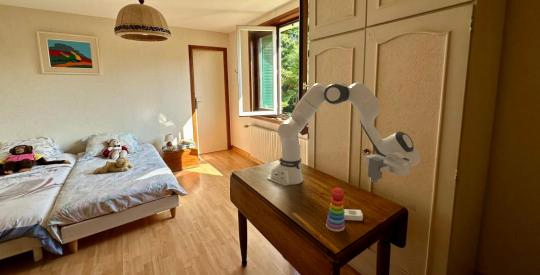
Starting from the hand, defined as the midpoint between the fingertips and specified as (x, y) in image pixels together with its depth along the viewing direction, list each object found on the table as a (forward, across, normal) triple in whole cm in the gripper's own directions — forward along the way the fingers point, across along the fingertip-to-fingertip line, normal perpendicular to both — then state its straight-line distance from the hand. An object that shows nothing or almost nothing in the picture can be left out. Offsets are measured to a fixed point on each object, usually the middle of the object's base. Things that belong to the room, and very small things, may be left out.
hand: (374, 167), depth 114 cm
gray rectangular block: (-1, 0, +7) cm, 7 cm away
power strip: (+13, 0, +23) cm, 26 cm away
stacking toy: (+23, +2, +23) cm, 33 cm away
